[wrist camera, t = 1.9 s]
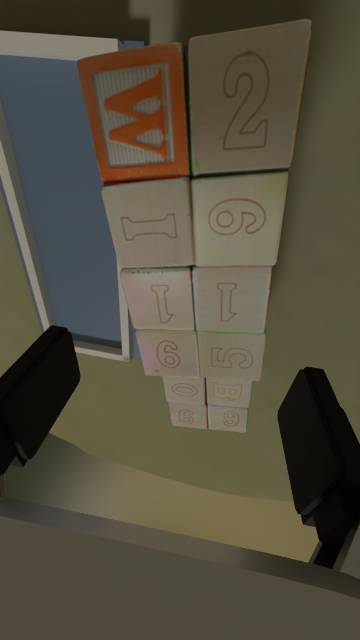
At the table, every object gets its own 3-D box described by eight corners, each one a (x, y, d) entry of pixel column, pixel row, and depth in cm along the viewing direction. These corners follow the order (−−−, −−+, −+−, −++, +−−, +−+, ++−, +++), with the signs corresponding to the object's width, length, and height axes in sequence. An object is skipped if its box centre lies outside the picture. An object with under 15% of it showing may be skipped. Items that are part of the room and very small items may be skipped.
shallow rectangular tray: (148, 47, 15) (138, 35, 13) (145, 353, 29) (140, 365, 28) (-32, 33, 16) (-62, 21, 15) (49, 335, 30) (39, 346, 29)
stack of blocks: (242, 356, 27) (248, 475, 17) (185, 352, 29) (160, 463, 18) (263, 97, 16) (321, 4, 6) (165, 109, 17) (66, 50, 7)
